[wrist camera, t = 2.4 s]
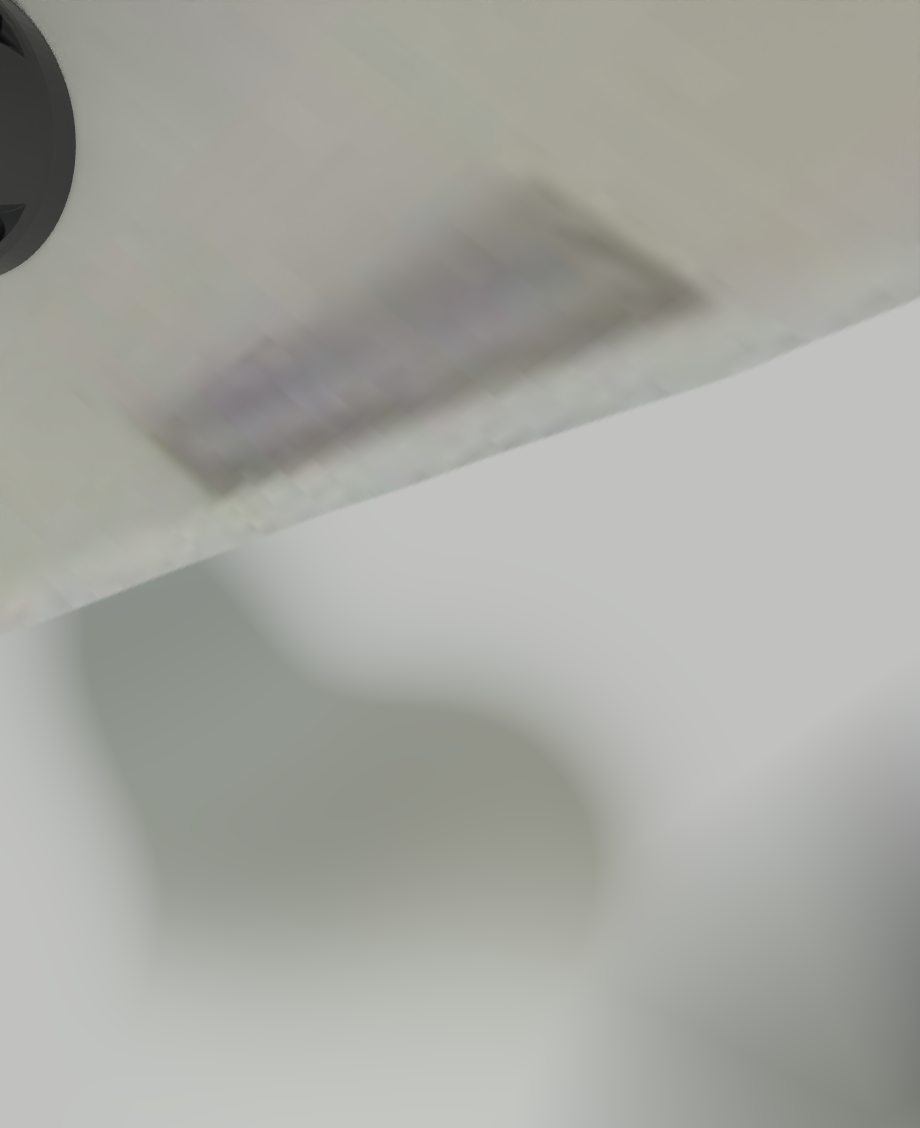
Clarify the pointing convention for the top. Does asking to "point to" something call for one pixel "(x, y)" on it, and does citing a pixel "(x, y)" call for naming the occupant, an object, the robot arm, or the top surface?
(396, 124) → the top surface
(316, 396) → the top surface
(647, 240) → the top surface
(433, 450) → the top surface
